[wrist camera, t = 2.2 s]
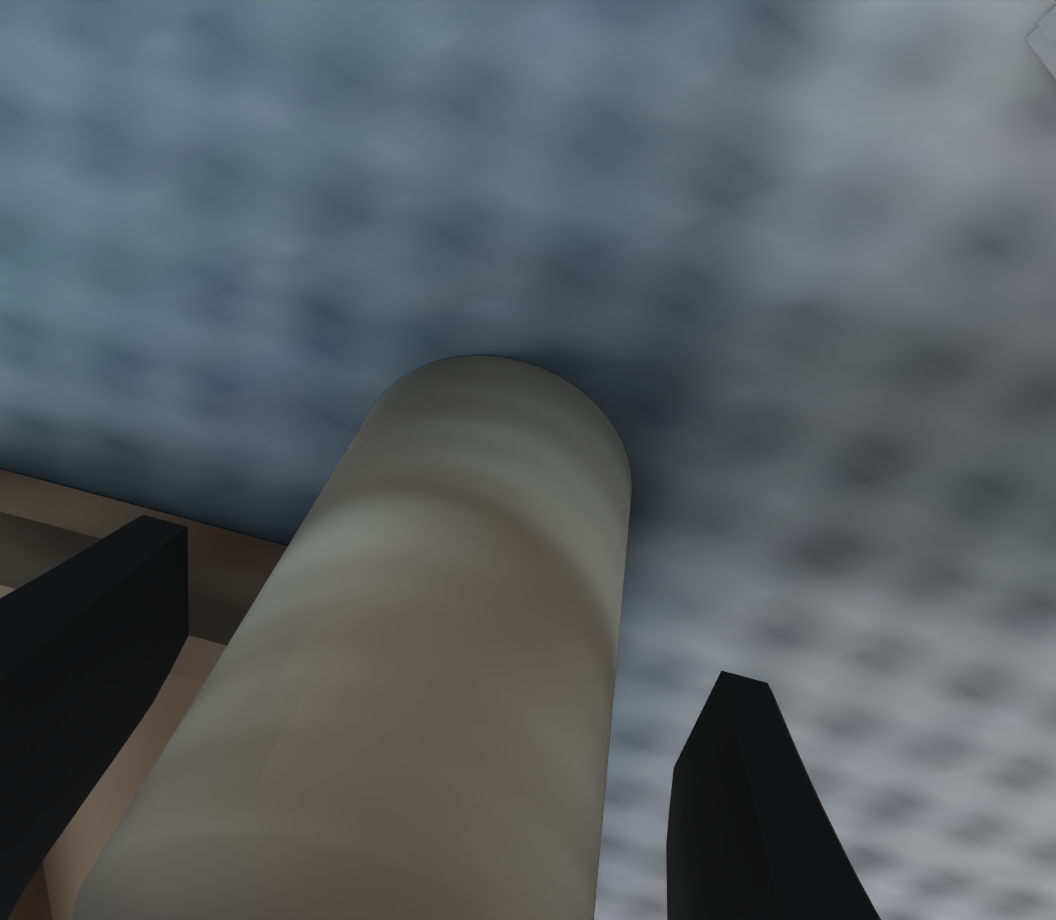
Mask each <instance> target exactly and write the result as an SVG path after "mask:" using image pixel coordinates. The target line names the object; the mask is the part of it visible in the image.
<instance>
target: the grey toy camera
mask: <svg viewBox="0 0 1056 920" xmlns="http://www.w3.org/2000/svg"><path fill="white" fill-rule="evenodd" d="M1036 23H1037V24H1038V25H1039V27H1037V28H1036V29H1035V30H1034V31H1033V32H1031V33H1030V34H1029V35H1028V36H1027V37H1026V38H1025V40H1026V41H1027V42H1028V44H1029V45H1030V46H1031V48H1032V49H1033V50H1034V52H1035V53H1036V54H1037V56H1038V57H1039V58H1040V60H1041V61H1042V62H1043V64H1044V65H1045V66H1046V68H1047V69H1048V70H1049V72H1050V73H1051V74H1052V76H1053V77H1054V78H1055V80H1056V6H1055V7H1054V8H1053V9H1052V10H1051V11H1049V12H1048V13H1047V14H1046V15H1045V16H1043V17H1042V18H1041V19H1040V20H1039V21H1038V22H1036Z"/></svg>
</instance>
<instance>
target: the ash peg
mask: <svg viewBox="0 0 1056 920" xmlns="http://www.w3.org/2000/svg"><path fill="white" fill-rule="evenodd" d="M631 493H632V479H631V469H630V465H629V460H628V456H627V453H626V451H625V448H624V445H623V443H622V440H621V438H620V437H619V435H618V433H617V431H616V429H615V428H614V426H613V424H612V423H611V422H610V420H609V419H608V418H607V416H606V415H605V414H604V412H603V411H602V410H601V409H600V408H599V407H598V406H597V405H596V404H595V403H594V402H593V401H592V400H591V399H590V398H589V397H588V396H587V395H586V394H584V393H583V392H582V391H581V390H579V389H578V388H577V387H576V386H574V385H573V384H571V383H569V382H568V381H566V380H564V379H563V378H561V377H560V376H558V375H556V374H554V373H551V372H549V371H547V370H545V369H543V368H541V367H538V366H535V365H532V364H529V363H526V362H523V361H519V360H514V359H509V358H504V357H496V356H484V355H478V356H460V357H454V358H448V359H443V360H440V361H437V362H433V363H430V364H427V365H425V366H422V367H420V368H418V369H416V370H414V371H412V372H410V373H408V374H407V375H405V376H404V377H402V378H401V379H399V380H397V381H396V382H395V383H394V384H393V385H392V386H391V387H389V388H388V389H387V390H386V391H385V392H384V393H383V394H382V396H381V397H380V398H379V399H378V400H377V402H376V403H375V404H374V406H373V407H372V409H371V411H370V412H369V414H368V416H367V417H366V419H365V421H364V422H363V424H362V426H361V427H360V429H359V430H358V432H357V434H356V435H355V437H354V439H353V440H352V442H351V444H350V445H349V447H348V448H347V450H346V452H345V453H344V455H343V457H342V458H341V460H340V462H339V463H338V465H337V467H336V468H335V470H334V471H333V473H332V475H331V476H330V478H329V480H328V481H327V483H326V485H325V486H324V488H323V489H322V491H321V493H320V494H319V496H318V498H317V499H316V501H315V503H314V504H313V506H312V507H311V509H310V511H309V512H308V514H307V516H306V517H305V519H304V521H303V522H302V524H301V526H300V527H299V529H298V530H297V532H296V534H295V535H294V537H293V539H292V540H291V542H290V544H289V545H288V547H287V548H286V550H285V552H284V553H283V555H282V557H281V558H280V560H279V562H278V563H277V565H276V567H275V568H274V570H273V571H272V573H271V575H270V576H269V578H268V580H267V581H266V583H265V585H264V586H263V588H262V589H261V591H260V593H259V594H258V596H257V598H256V599H255V601H254V603H253V604H252V606H251V608H250V609H249V611H248V612H247V614H246V616H245V617H244V619H243V621H242V622H241V624H240V626H239V627H238V629H237V630H236V632H235V634H234V635H233V637H232V639H231V640H230V642H229V644H228V645H227V647H226V649H225V650H224V652H223V653H222V655H221V657H220V658H219V660H218V662H217V663H216V665H215V667H214V668H213V670H212V671H211V673H210V675H209V676H208V678H207V680H206V681H205V683H204V685H203V686H202V688H201V689H200V691H199V693H198V694H197V696H196V698H195V699H194V701H193V703H192V704H191V706H190V708H189V709H188V711H187V712H186V714H185V716H184V717H183V719H182V721H181V722H180V724H179V726H178V727H177V729H176V730H175V732H174V734H173V735H172V737H171V739H170V740H169V742H168V744H167V745H166V747H165V749H164V750H163V752H162V753H161V755H160V757H159V758H158V760H157V762H156V763H155V765H154V767H153V768H152V770H151V771H150V773H149V775H148V776H147V778H146V780H145V781H144V783H143V785H142V786H141V788H140V790H139V791H138V793H137V794H136V796H135V798H134V799H133V801H132V803H131V804H130V806H129V808H128V809H127V811H126V812H125V814H124V816H123V817H122V819H121V821H120V822H119V824H118V826H117V827H116V829H115V831H114V832H113V834H112V835H111V837H110V839H109V840H108V842H107V844H106V845H105V847H104V849H103V850H102V852H101V853H100V855H99V857H98V858H97V860H96V862H95V863H94V865H93V867H92V868H91V870H90V871H89V873H88V875H87V876H86V878H85V880H84V882H83V883H82V885H81V887H80V889H79V890H78V892H77V895H76V899H75V903H74V907H73V920H594V911H595V899H596V888H597V877H598V865H599V854H600V843H601V832H602V820H603V809H604V798H605V787H606V775H607V764H608V753H609V741H610V730H611V719H612V708H613V696H614V685H615V674H616V663H617V651H618V640H619V629H620V617H621V606H622V595H623V584H624V572H625V561H626V550H627V539H628V527H629V516H630V505H631Z"/></svg>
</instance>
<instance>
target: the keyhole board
mask: <svg viewBox="0 0 1056 920" xmlns="http://www.w3.org/2000/svg"><path fill="white" fill-rule="evenodd" d="M142 515H147V516H150V517H154V518H158V519H161V520H165V521H169V522H173V523H176V524H180V525H184V526H187V527H188V616H189V636H188V638H187V640H186V642H185V644H184V646H183V648H182V650H181V652H180V654H179V655H178V657H177V659H176V661H175V663H174V665H173V667H172V669H171V671H170V673H169V675H168V677H167V678H166V680H165V682H164V684H163V686H162V687H161V689H160V691H159V693H158V695H157V697H156V698H155V700H154V702H153V704H152V705H151V707H150V708H149V710H148V711H147V713H146V714H145V715H144V717H143V718H142V720H141V721H140V723H139V724H138V726H137V727H136V729H135V730H134V731H133V733H132V734H131V736H130V737H129V739H128V740H127V741H126V743H125V744H124V746H123V747H122V749H121V750H120V752H119V753H118V754H117V756H116V757H115V759H114V760H113V762H112V763H111V764H110V766H109V767H108V769H107V770H106V771H105V773H104V774H103V776H102V777H101V779H100V780H99V781H98V783H97V784H96V786H95V787H94V788H93V790H92V791H91V793H90V794H89V796H88V797H87V798H86V800H85V801H84V803H83V804H82V805H81V807H80V808H79V810H78V811H77V813H76V814H75V815H74V817H73V818H72V820H71V821H70V822H69V824H68V825H67V827H66V828H65V830H64V831H63V832H62V834H61V835H60V837H59V838H58V839H57V841H56V842H55V844H54V845H53V847H52V848H51V849H50V851H49V852H48V854H47V855H46V857H45V858H44V860H43V861H42V863H41V865H40V866H39V868H38V869H37V871H36V872H35V874H34V875H33V877H32V878H31V880H30V882H29V883H28V885H27V886H26V888H25V889H24V891H23V893H22V895H21V896H20V898H19V900H18V902H17V903H16V905H15V907H14V909H13V910H12V912H11V914H10V915H9V917H8V919H7V920H73V907H74V903H75V899H76V895H77V892H78V890H79V889H80V887H81V885H82V883H83V882H84V880H85V878H86V876H87V875H88V873H89V871H90V870H91V868H92V867H93V865H94V863H95V862H96V860H97V858H98V857H99V855H100V853H101V852H102V850H103V849H104V847H105V845H106V844H107V842H108V840H109V839H110V837H111V835H112V834H113V832H114V831H115V829H116V827H117V826H118V824H119V822H120V821H121V819H122V817H123V816H124V814H125V812H126V811H127V809H128V808H129V806H130V804H131V803H132V801H133V799H134V798H135V796H136V794H137V793H138V791H139V790H140V788H141V786H142V785H143V783H144V781H145V780H146V778H147V776H148V775H149V773H150V771H151V770H152V768H153V767H154V765H155V763H156V762H157V760H158V758H159V757H160V755H161V753H162V752H163V750H164V749H165V747H166V745H167V744H168V742H169V740H170V739H171V737H172V735H173V734H174V732H175V730H176V729H177V727H178V726H179V724H180V722H181V721H182V719H183V717H184V716H185V714H186V712H187V711H188V709H189V708H190V706H191V704H192V703H193V701H194V699H195V698H196V696H197V694H198V693H199V691H200V689H201V688H202V686H203V685H204V683H205V681H206V680H207V678H208V676H209V675H210V673H211V671H212V670H213V668H214V667H215V665H216V663H217V662H218V660H219V658H220V657H221V655H222V653H223V652H224V650H225V649H226V647H227V645H228V644H229V642H230V640H231V639H232V637H233V635H234V634H235V632H236V630H237V629H238V627H239V626H240V624H241V622H242V621H243V619H244V617H245V616H246V614H247V612H248V611H249V609H250V608H251V606H252V604H253V603H254V601H255V599H256V598H257V596H258V594H259V593H260V591H261V589H262V588H263V586H264V585H265V583H266V581H267V580H268V578H269V576H270V575H271V573H272V571H273V570H274V568H275V567H276V565H277V563H278V562H279V560H280V558H281V557H282V555H283V553H284V552H285V550H286V548H287V547H288V546H286V545H282V544H278V543H275V542H271V541H267V540H263V539H260V538H256V537H252V536H248V535H245V534H241V533H237V532H234V531H230V530H226V529H222V528H219V527H215V526H211V525H207V524H204V523H200V522H196V521H192V520H189V519H185V518H181V517H177V516H174V515H170V514H166V513H163V512H159V511H155V510H151V509H148V508H144V507H140V506H136V505H133V504H129V503H125V502H121V501H118V500H114V499H110V498H107V497H103V496H99V495H95V494H92V493H88V492H84V491H80V490H77V489H73V488H69V487H65V486H62V485H58V484H54V483H50V482H47V481H43V480H39V479H36V478H32V477H28V476H24V475H21V474H17V473H13V472H9V471H6V470H2V469H0V598H1V597H3V596H5V595H7V594H8V593H10V592H12V591H14V590H15V589H17V588H19V587H21V586H22V585H24V584H26V583H28V582H29V581H31V580H33V579H35V578H36V577H38V576H40V575H42V574H43V573H45V572H47V571H48V570H50V569H52V568H53V567H55V566H57V565H58V564H60V563H62V562H63V561H65V560H67V559H69V558H70V557H72V556H74V555H75V554H77V553H79V552H80V551H82V550H84V549H85V548H87V547H89V546H90V545H92V544H94V543H95V542H97V541H99V540H100V539H102V538H104V537H105V536H107V535H109V534H110V533H112V532H114V531H115V530H117V529H119V528H120V527H122V526H124V525H126V524H127V523H129V522H131V521H133V520H134V519H136V518H138V517H140V516H142Z"/></svg>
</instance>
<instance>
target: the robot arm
mask: <svg viewBox="0 0 1056 920" xmlns="http://www.w3.org/2000/svg"><path fill="white" fill-rule="evenodd" d="M188 636H189V616H188V527H187V526H184V525H180V524H176V523H173V522H169V521H165V520H161V519H158V518H154V517H150V516H147V515H142V516H140V517H138V518H136V519H134V520H133V521H131V522H129V523H127V524H126V525H124V526H122V527H120V528H119V529H117V530H115V531H114V532H112V533H110V534H109V535H107V536H105V537H104V538H102V539H100V540H99V541H97V542H95V543H94V544H92V545H90V546H89V547H87V548H85V549H84V550H82V551H80V552H79V553H77V554H75V555H74V556H72V557H70V558H69V559H67V560H65V561H63V562H62V563H60V564H58V565H57V566H55V567H53V568H52V569H50V570H48V571H47V572H45V573H43V574H42V575H40V576H38V577H36V578H35V579H33V580H31V581H29V582H28V583H26V584H24V585H22V586H21V587H19V588H17V589H15V590H14V591H12V592H10V593H8V594H7V595H5V596H3V597H1V598H0V920H7V919H8V917H9V915H10V914H11V912H12V910H13V909H14V907H15V905H16V903H17V902H18V900H19V898H20V896H21V895H22V893H23V891H24V889H25V888H26V886H27V885H28V883H29V882H30V880H31V878H32V877H33V875H34V874H35V872H36V871H37V869H38V868H39V866H40V865H41V863H42V861H43V860H44V858H45V857H46V855H47V854H48V852H49V851H50V849H51V848H52V847H53V845H54V844H55V842H56V841H57V839H58V838H59V837H60V835H61V834H62V832H63V831H64V830H65V828H66V827H67V825H68V824H69V822H70V821H71V820H72V818H73V817H74V815H75V814H76V813H77V811H78V810H79V808H80V807H81V805H82V804H83V803H84V801H85V800H86V798H87V797H88V796H89V794H90V793H91V791H92V790H93V788H94V787H95V786H96V784H97V783H98V781H99V780H100V779H101V777H102V776H103V774H104V773H105V771H106V770H107V769H108V767H109V766H110V764H111V763H112V762H113V760H114V759H115V757H116V756H117V754H118V753H119V752H120V750H121V749H122V747H123V746H124V744H125V743H126V741H127V740H128V739H129V737H130V736H131V734H132V733H133V731H134V730H135V729H136V727H137V726H138V724H139V723H140V721H141V720H142V718H143V717H144V715H145V714H146V713H147V711H148V710H149V708H150V707H151V705H152V704H153V702H154V700H155V698H156V697H157V695H158V693H159V691H160V689H161V687H162V686H163V684H164V682H165V680H166V678H167V677H168V675H169V673H170V671H171V669H172V667H173V665H174V663H175V661H176V659H177V657H178V655H179V654H180V652H181V650H182V648H183V646H184V644H185V642H186V640H187V638H188ZM666 847H667V917H668V920H881V919H880V917H879V915H878V914H877V912H876V910H875V908H874V906H873V905H872V903H871V901H870V899H869V897H868V895H867V894H866V892H865V890H864V888H863V886H862V884H861V883H860V881H859V879H858V877H857V875H856V873H855V871H854V869H853V867H852V865H851V863H850V861H849V859H848V857H847V856H846V853H845V851H844V849H843V847H842V845H841V843H840V841H839V839H838V837H837V835H836V833H835V831H834V829H833V827H832V825H831V823H830V821H829V819H828V817H827V815H826V813H825V811H824V808H823V806H822V804H821V802H820V800H819V798H818V796H817V794H816V791H815V789H814V787H813V785H812V783H811V781H810V778H809V776H808V774H807V772H806V769H805V767H804V765H803V763H802V760H801V758H800V756H799V754H798V751H797V749H796V747H795V744H794V742H793V740H792V737H791V735H790V733H789V730H788V728H787V726H786V723H785V721H784V719H783V716H782V714H781V711H780V709H779V707H778V704H777V702H776V700H775V697H774V695H773V693H772V690H771V689H770V687H769V685H768V683H765V682H762V681H758V680H754V679H751V678H747V677H743V676H740V675H736V674H732V673H728V672H725V671H721V673H720V675H719V677H718V679H717V681H716V683H715V685H714V687H713V689H712V691H711V693H710V695H709V697H708V699H707V701H706V703H705V705H704V707H703V709H702V711H701V714H700V716H699V718H698V720H697V722H696V724H695V726H694V728H693V730H692V732H691V734H690V736H689V738H688V740H687V742H686V744H685V746H684V748H683V750H682V752H681V754H680V756H679V758H678V760H677V762H676V764H675V766H674V771H673V781H672V790H671V799H670V809H669V820H668V832H667V843H666Z"/></svg>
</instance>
